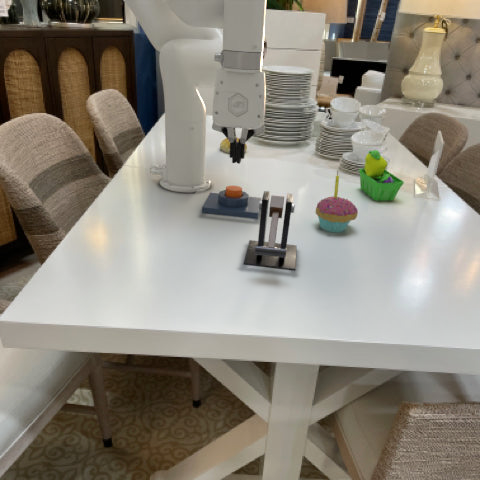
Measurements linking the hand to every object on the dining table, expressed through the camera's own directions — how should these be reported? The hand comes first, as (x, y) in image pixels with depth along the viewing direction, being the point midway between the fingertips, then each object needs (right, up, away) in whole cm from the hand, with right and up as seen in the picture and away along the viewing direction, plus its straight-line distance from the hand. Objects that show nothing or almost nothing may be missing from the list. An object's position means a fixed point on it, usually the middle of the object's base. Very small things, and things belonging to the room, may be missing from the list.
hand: (236, 161), depth 99 cm
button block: (-1, -9, +6) cm, 11 cm away
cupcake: (+20, -15, +1) cm, 25 cm away
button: (-1, -6, +4) cm, 8 cm away
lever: (+6, -18, -20) cm, 28 cm away
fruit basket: (+35, -1, +23) cm, 43 cm away
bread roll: (-1, +21, +52) cm, 56 cm away
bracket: (+6, -22, -13) cm, 26 cm away
